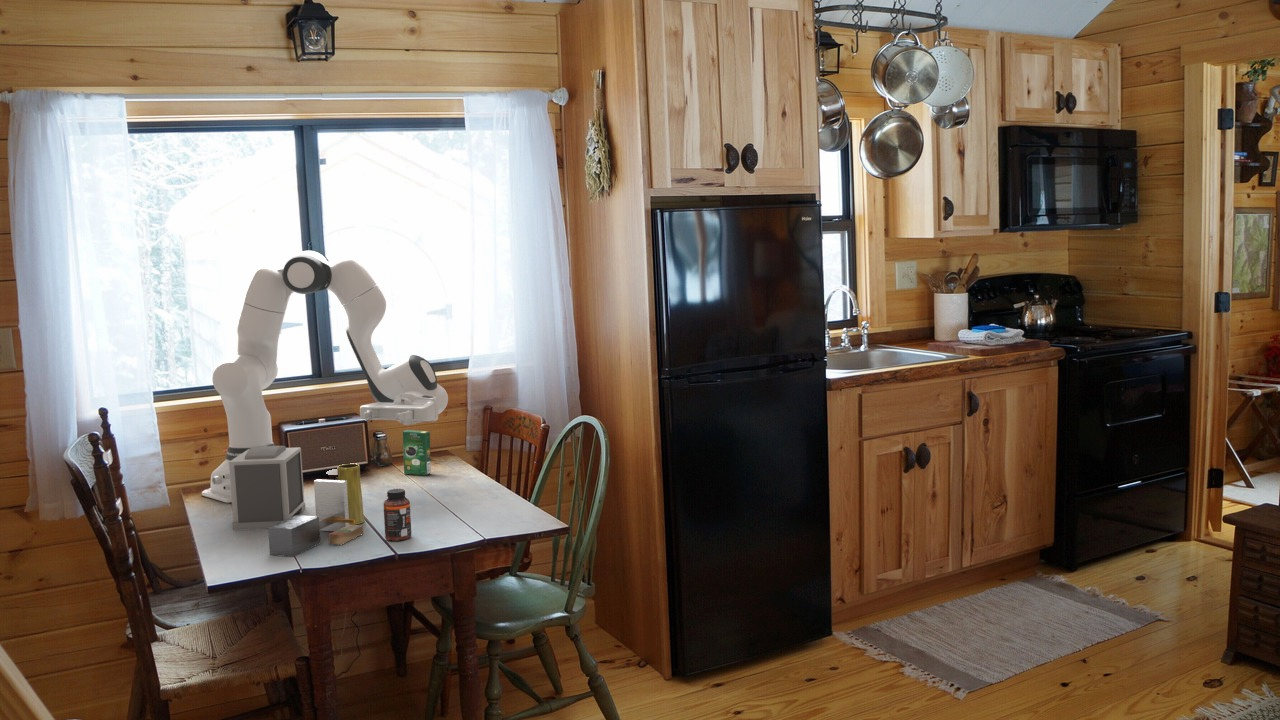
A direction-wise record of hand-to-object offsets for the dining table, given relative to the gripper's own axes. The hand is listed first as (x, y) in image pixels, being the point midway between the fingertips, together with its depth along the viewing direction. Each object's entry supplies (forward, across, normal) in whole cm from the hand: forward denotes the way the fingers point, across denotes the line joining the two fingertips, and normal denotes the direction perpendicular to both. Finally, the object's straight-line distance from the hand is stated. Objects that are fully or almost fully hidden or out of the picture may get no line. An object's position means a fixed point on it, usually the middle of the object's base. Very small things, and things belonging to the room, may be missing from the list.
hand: (381, 416), depth 259 cm
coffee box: (-34, -10, +24) cm, 43 cm away
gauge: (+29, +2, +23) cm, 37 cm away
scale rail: (+29, +7, +23) cm, 38 cm away
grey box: (+18, -22, +24) cm, 37 cm away
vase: (+16, 0, +24) cm, 29 cm away
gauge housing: (+38, 0, +23) cm, 45 cm away
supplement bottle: (+25, +19, +24) cm, 40 cm away
